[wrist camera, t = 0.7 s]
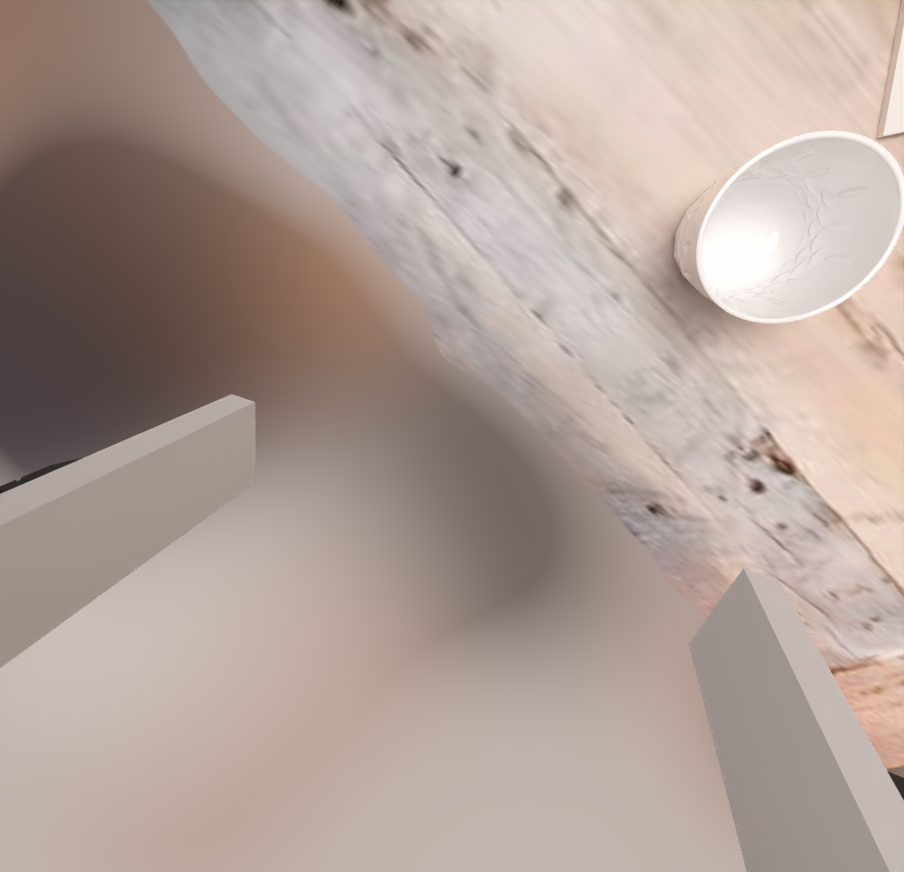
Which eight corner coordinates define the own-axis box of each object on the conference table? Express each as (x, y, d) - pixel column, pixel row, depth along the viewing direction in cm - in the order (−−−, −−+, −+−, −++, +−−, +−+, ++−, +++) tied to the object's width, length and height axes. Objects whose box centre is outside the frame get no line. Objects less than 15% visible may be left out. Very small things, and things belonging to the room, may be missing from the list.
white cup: (820, 256, 27) (932, 264, 18) (691, 320, 31) (733, 352, 22) (776, 136, 25) (875, 82, 17) (644, 218, 29) (669, 209, 20)
